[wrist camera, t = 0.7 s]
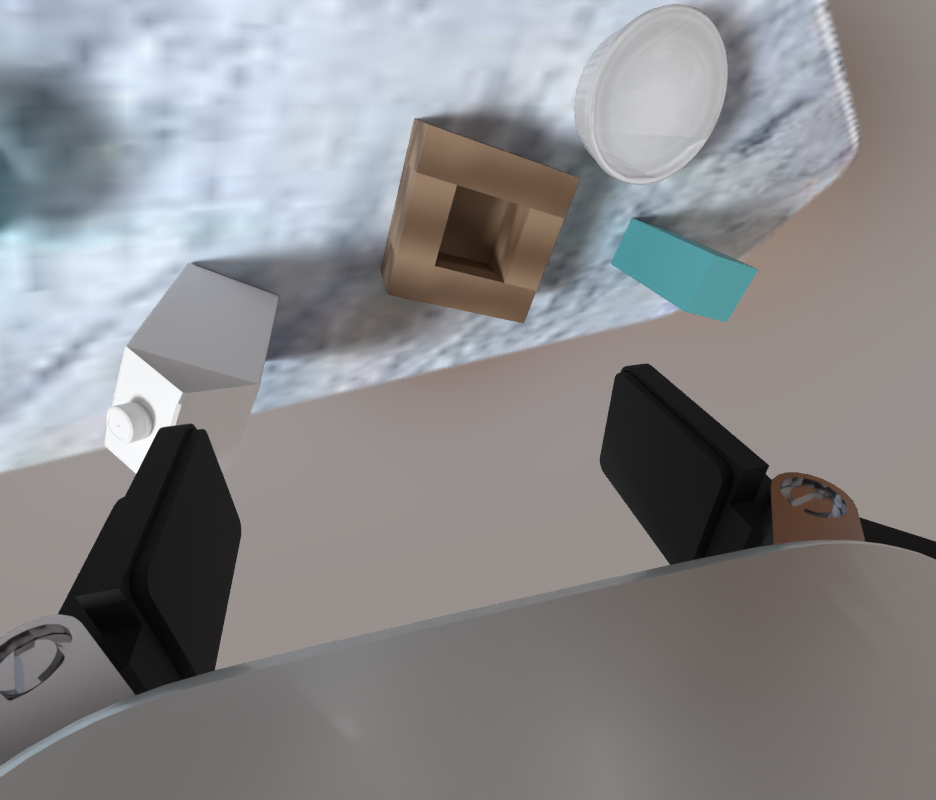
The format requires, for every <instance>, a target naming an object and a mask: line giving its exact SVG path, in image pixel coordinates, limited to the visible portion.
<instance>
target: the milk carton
mask: <svg viewBox="0 0 936 800" xmlns="http://www.w3.org/2000/svg"><path fill="white" fill-rule="evenodd" d="M278 299H279V296H277V295H274V294H272V293H269V292H266V291H263V290H261V289H258V288H255V287H253V286H250V285H247V284H244V283H242V282H239V281H236V280H233V279H231V278H228V277H225V276H223V275H220V274H217V273H214V272H212V271H209V270H206V269H204V268H201V267H198V266H195V265H193V264H190V263H188V264H187V265H186V267H185V268H184V269H183V271H182V272H181V273H180V275H179V276H178V277H177V279H176V280H175V281H174V283H173V284H172V285H171V287H170V288H169V289H168V291H167V292H166V293H165V295H164V296H163V297H162V299H161V300H160V301H159V302H158V304H157V305H156V306H155V308H154V309H153V310H152V312H151V313H150V314H149V316H148V317H147V318H146V320H145V321H144V322H143V324H142V325H141V326H140V328H139V329H138V330H137V332H136V333H135V334H134V336H133V337H132V338H131V340H130V341H129V343H128V344H127V346H126V347H125V351H124V354H123V358H122V363H121V367H120V372H119V376H118V381H117V385H116V390H115V394H114V399H113V404H112V407H111V408H110V409H109V410H108V412H107V416H106V423H107V431H106V436H105V446H106V447H107V448H108V449H109V450H110V451H111V452H112V453H113V454H115V455H116V456H117V457H118V458H119V459H120V460H121V461H123V462H124V463H125V464H126V465H127V466H128V467H129V468H130V469H132V470H133V471H134V472H135V473H136V474H137V472H138V470H139V468H140V466H141V464H142V462H143V460H144V458H145V456H146V454H147V452H148V450H149V448H150V446H151V444H152V442H153V440H154V438H155V436H156V434H157V432H158V430H159V429H160V428H162V427H167V426H175V425H183V424H190V423H191V424H194V426H195V427H196V428H197V430H198V429H205V430H206V432H207V434H208V436H209V439H210V441H211V444H212V447H213V450H214V452H215V455H216V458H217V460H218V463H219V466H220V468H221V471H222V472H224V471H227V470H229V468H230V466H231V464H232V461H233V459H234V456H235V453H236V450H237V448H238V445H239V442H240V439H241V437H242V434H243V431H244V428H245V426H246V423H247V420H248V417H249V415H250V412H251V409H252V407H253V404H254V401H255V398H256V396H257V393H258V390H259V387H260V382H261V378H262V373H263V369H264V364H265V359H266V355H267V350H268V345H269V341H270V336H271V332H272V327H273V322H274V318H275V313H276V309H277V304H278Z"/></svg>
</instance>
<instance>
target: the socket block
mask: <svg viewBox="0 0 936 800" xmlns="http://www.w3.org/2000/svg"><path fill="white" fill-rule="evenodd" d="M579 180H580V178H578V177H575V176H573V175H570V174H568V173H565V172H562V171H560V170H557V169H555V168H552V167H549V166H547V165H544V164H541V163H538V162H535V161H532V160H530V159H527V158H524V157H521V156H518V155H516V154H513V153H510V152H507V151H504V150H501V149H499V148H496V147H493V146H490V145H487V144H484V143H482V142H479V141H476V140H473V139H470V138H468V137H465V136H462V135H459V134H456V133H453V132H451V131H448V130H445V129H442V128H439V127H437V126H434V125H431V124H428V123H425V122H422V121H420V120H417V119H414V122H413V127H412V131H411V136H410V140H409V145H408V149H407V154H406V158H405V163H404V167H403V172H402V176H401V181H400V185H399V190H398V194H397V199H396V203H395V207H394V212H393V216H392V221H391V225H390V230H389V234H388V239H387V243H386V248H385V252H384V257H383V261H382V266H381V273H382V276H383V280H384V283H385V287H386V290H387V294H389V295H393V296H398V297H403V298H407V299H412V300H417V301H421V302H426V303H431V304H436V305H440V306H445V307H450V308H454V309H459V310H464V311H468V312H473V313H478V314H482V315H487V316H492V317H496V318H501V319H506V320H511V321H515V322H520V323H524V321H525V319H526V316H527V314H528V311H529V309H530V306H531V303H532V301H533V298H534V296H535V293H536V291H537V288H538V285H539V283H540V280H541V278H542V275H543V273H544V270H545V267H546V265H547V262H548V260H549V257H550V255H551V252H552V250H553V247H554V244H555V242H556V239H557V237H558V234H559V232H560V229H561V226H562V224H563V221H564V219H565V216H566V214H567V211H568V209H569V206H570V203H571V201H572V198H573V196H574V193H575V191H576V188H577V185H578V183H579Z"/></svg>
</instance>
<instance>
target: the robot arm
mask: <svg viewBox="0 0 936 800" xmlns="http://www.w3.org/2000/svg"><path fill="white" fill-rule="evenodd" d="M600 465H601V468H602V471H603V472H604V474H605V475H606V477H607V478H608V479H609V481H610V482H611V483H612V485H613V486H614V488H615V489H616V490H617V492H618V493H619V494H620V496H621V497H622V499H623V500H624V501H625V503H626V504H627V505H628V507H629V508H630V510H631V511H632V512H633V514H634V515H635V517H636V518H637V519H638V521H639V522H640V524H641V525H642V526H643V528H644V529H645V530H646V532H647V533H648V535H649V536H650V537H651V539H652V540H653V541H654V543H655V544H656V546H657V547H658V548H659V550H660V551H661V552H662V554H663V555H664V557H665V558H666V559H667V561H668V562H669V564H670V565H668V566H664V567H659V568H655V569H650V570H646V571H641V572H637V573H632V574H628V575H623V576H619V577H614V578H609V579H605V580H600V581H596V582H592V583H587V584H582V585H578V586H573V587H569V588H564V589H560V590H556V591H551V592H547V593H542V594H538V595H533V596H529V597H524V598H520V599H516V600H511V601H507V602H503V603H498V604H494V605H490V606H485V607H481V608H476V609H472V610H467V611H463V612H459V613H455V614H450V615H445V616H441V617H437V618H432V619H428V620H424V621H419V622H415V623H411V624H407V625H403V626H398V627H394V628H389V629H385V630H381V631H376V632H372V633H368V634H363V635H359V636H355V637H350V638H346V639H342V640H337V641H333V642H329V643H324V644H320V645H316V646H312V647H307V648H303V649H299V650H296V651H292V652H288V653H283V654H279V655H275V656H271V657H267V658H263V659H260V660H255V661H251V662H247V663H243V664H239V665H235V666H231V667H227V668H223V669H219V670H215V665H216V661H217V655H218V650H219V645H220V640H221V635H222V630H223V625H224V620H225V615H226V610H227V604H228V599H229V594H230V589H231V584H232V579H233V574H234V569H235V563H236V559H237V553H238V548H239V543H240V538H241V524H240V519H239V517H238V514H237V511H236V508H235V506H234V503H233V500H232V498H231V495H230V493H229V490H228V487H227V485H226V482H225V479H224V476H223V474H222V471H221V468H220V466H219V463H218V460H217V458H216V455H215V452H214V450H213V447H212V444H211V441H210V439H209V436H208V434H207V432H206V430H205V429H198V430H197V428H196V427H195V426H194V424H191V423H190V424H183V425H175V426H167V427H162V428H160V429H159V430H158V432H157V434H156V436H155V438H154V440H153V442H152V444H151V446H150V448H149V450H148V452H147V454H146V456H145V458H144V460H143V462H142V464H141V466H140V468H139V470H138V472H137V474H136V476H135V478H134V480H133V482H132V483H131V486H130V488H129V489H128V491H127V493H126V495H125V497H123V498H121V499H119V500H118V501H117V503H116V504H115V505H114V507H113V509H112V511H111V513H110V515H109V517H108V518H107V520H106V522H105V524H104V526H103V528H102V530H101V532H100V534H99V536H98V538H97V540H96V542H95V544H94V546H93V547H92V549H91V551H90V553H89V555H88V557H87V559H86V561H85V563H84V565H83V567H82V569H81V571H80V573H79V574H78V577H77V579H76V580H75V582H74V584H73V586H72V588H71V590H70V592H69V594H68V596H67V598H66V600H65V602H64V603H63V605H62V607H61V609H60V611H59V613H58V615H52V616H45V617H41V618H38V619H35V620H32V621H29V622H26V623H24V624H22V625H20V626H18V627H16V628H15V629H13V630H11V631H9V632H7V633H5V634H4V635H3V636H1V637H0V800H936V542H935V541H932V540H929V539H926V538H923V537H919V536H916V535H913V534H910V533H907V532H904V531H900V530H897V529H894V528H891V527H888V526H885V525H882V524H878V523H875V522H872V521H869V520H866V519H862V518H860V517H859V514H858V510H857V508H856V506H855V504H854V502H853V500H852V499H851V498H850V497H849V496H848V495H847V494H846V493H845V492H844V491H842V490H841V489H840V488H838V487H837V486H835V485H834V484H832V483H830V482H827V481H826V480H824V479H821V478H818V477H815V476H812V475H808V474H803V473H798V472H789V473H783V474H779V475H777V476H776V477H775V478H773V479H772V480H771V479H770V478H769V477H768V476H767V475H766V471H767V469H768V467H769V465H768V464H767V463H765V462H764V461H763V460H762V459H761V458H759V456H757V455H756V454H755V453H754V452H752V451H751V450H750V449H749V448H748V447H747V446H745V445H744V444H743V443H742V442H741V441H740V440H738V439H737V438H736V437H735V436H734V435H732V434H731V433H730V432H729V431H728V430H727V429H726V428H724V427H723V426H722V425H721V424H720V423H718V422H717V421H716V420H715V419H714V418H713V417H711V416H710V415H709V414H708V413H707V412H705V411H704V410H703V409H702V408H701V407H700V406H698V405H697V404H696V403H695V402H694V401H692V400H691V399H690V398H689V397H688V396H686V395H685V394H684V393H683V392H682V391H681V390H679V389H678V388H677V387H676V386H675V385H674V384H672V383H671V382H670V381H669V380H668V379H667V378H665V377H664V376H663V375H662V374H661V373H659V372H658V371H657V370H656V369H655V368H654V367H652V366H651V365H649V364H639V365H631V366H625V367H624V368H623V369H622V370H621V373H618V374H617V375H616V376H615V380H614V385H613V390H612V396H611V402H610V407H609V412H608V418H607V423H606V428H605V433H604V439H603V445H602V450H601V455H600Z"/></svg>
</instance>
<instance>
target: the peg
mask: <svg viewBox="0 0 936 800" xmlns="http://www.w3.org/2000/svg"><path fill="white" fill-rule="evenodd" d="M611 264H612V265H613V266H615V267H617V268H618V269H620V270H621V271H623V272H624V273H626V274H627V275H629V276H630V277H632V278H634V279H635V280H637V281H638V282H640V283H641V284H643V285H644V286H646V287H648V288H649V289H651V290H652V291H654V292H655V293H657V294H658V295H660V296H661V297H663V298H665V299H666V300H668V301H669V302H671V303H672V304H674V305H675V306H677V307H679V308H680V309H682V310H683V311H685V312H689V313H693V314H697V315H700V316H704V317H708V318H712V319H716V320H720V321H724V322H727V320H728V319H729V317H730V316H731V314H732V312H733V311H734V309H735V307H736V305H737V304H738V302H739V301H740V299H741V297H742V295H743V294H744V292H745V291H746V289H747V288H748V286H749V284H750V283H751V281H752V279H753V278H754V276H755V274H756V273H757V271H758V269H756V268H754V267H751V266H749V265H747V264H745V263H743V262H740V261H738V260H736V259H733V258H731V257H729V256H727V255H724V254H722V253H720V252H717V251H715V250H713V249H711V248H708V247H706V246H704V245H701V244H699V243H697V242H695V241H692V240H690V239H688V238H685V237H683V236H681V235H679V234H676V233H674V232H672V231H669V230H667V229H664V228H661V227H658V226H655V225H652V224H649V223H646V222H643V221H640V220H637V219H634V218H632V219H631V221H630V224H629V226H628V228H627V230H626V232H625V235H624V237H623V239H622V241H621V243H620V246H619V248H618V250H617V252H616V254H615V257H614V259H613V261H612V263H611Z"/></svg>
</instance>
